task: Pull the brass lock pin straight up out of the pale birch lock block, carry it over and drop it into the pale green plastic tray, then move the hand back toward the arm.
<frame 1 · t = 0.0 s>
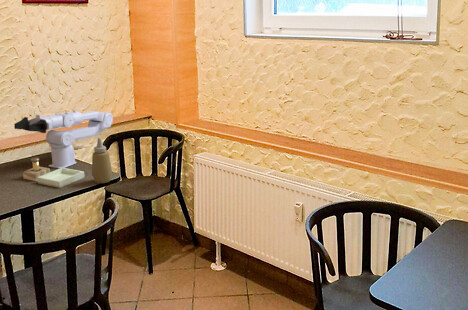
hand: (21, 127, 222), 22 cm above the table, tool horizontal, fingers open, 7 cm apart
squeeze bottle: (102, 181, 225), on the table
lock pin: (37, 177, 230), resting in lock block
lock block: (37, 176, 230), on the table
tray: (61, 180, 226), on the table
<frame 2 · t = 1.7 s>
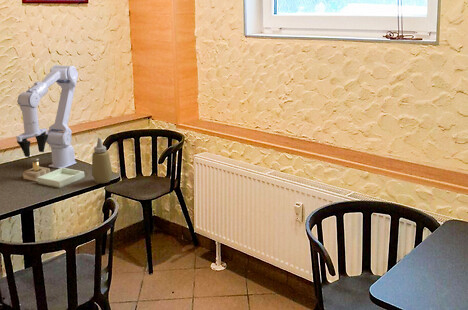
hand: (34, 154, 227), 10 cm above the table, tool pointing down, fingers open, 7 cm apart
nothing on the table moved.
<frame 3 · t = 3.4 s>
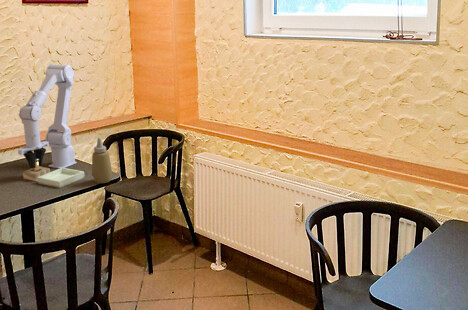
hand: (36, 166, 229), 4 cm above the table, tool pointing down, fingers closed on lock pin, 3 cm apart
lock pin: (37, 177, 230), resting in lock block, touching gripper
everything else where it was.
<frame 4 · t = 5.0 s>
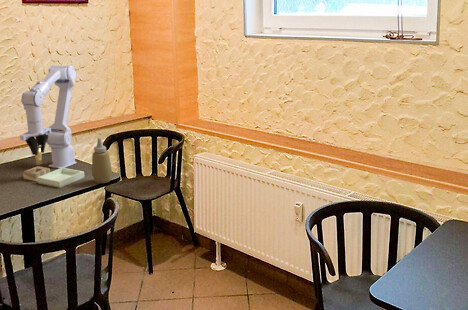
hand: (38, 153, 227), 10 cm above the table, tool pointing down, fingers closed on lock pin, 3 cm apart
lock pin: (39, 163, 228), point 6 cm above the table, touching gripper
everything else where it was.
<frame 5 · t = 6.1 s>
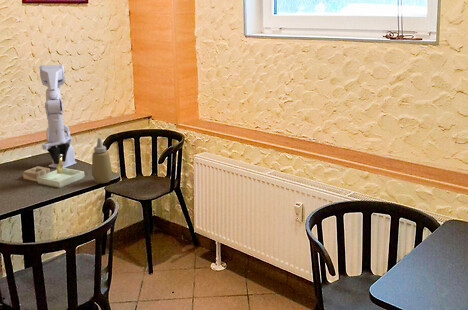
hand: (59, 162, 224), 8 cm above the table, tool pointing down, fingers closed on lock pin, 3 cm apart
lock pin: (60, 172, 225), point 3 cm above the table, touching gripper
everything else where it was.
when the fingers open (7 cm above the table, at t = 6.8 s): lock pin drops 2 cm, resting on tray.
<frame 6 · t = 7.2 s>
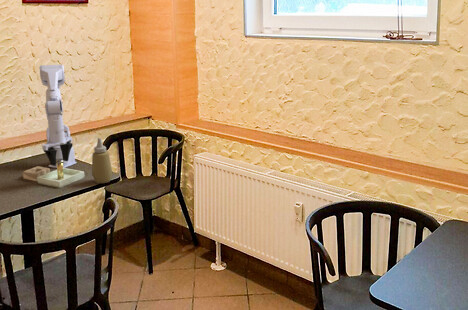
hand: (59, 162, 224), 7 cm above the table, tool pointing down, fingers open, 6 cm apart
lock pin: (60, 178, 226), point 1 cm above the table, touching tray
everything else where it was.
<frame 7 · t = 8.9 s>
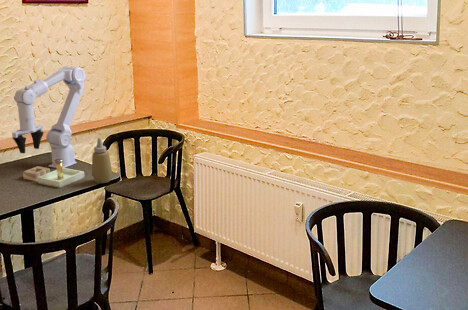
hand: (29, 150, 230), 10 cm above the table, tool pointing down, fingers open, 7 cm apart
nothing on the table moved.
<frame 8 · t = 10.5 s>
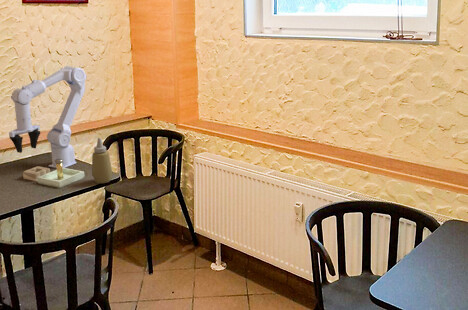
hand: (26, 150, 231), 10 cm above the table, tool pointing down, fingers open, 7 cm apart
nothing on the table moved.
at the end: lock pin inside the target area on the tray (0.3 cm from its centre), point 0.6 cm above the tray's base; the gripper is holding nothing; lock pin moved 11.8 cm from its start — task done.
